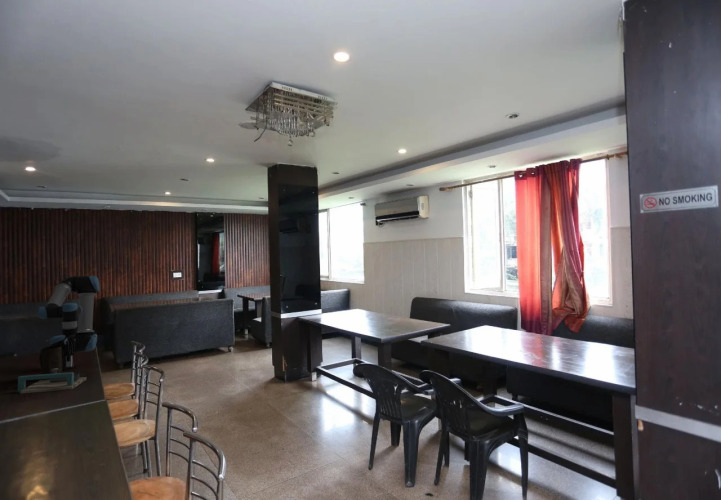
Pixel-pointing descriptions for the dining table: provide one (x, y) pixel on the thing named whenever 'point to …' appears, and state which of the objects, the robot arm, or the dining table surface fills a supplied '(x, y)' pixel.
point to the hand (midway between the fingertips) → (69, 366)
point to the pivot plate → (51, 385)
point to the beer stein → (50, 360)
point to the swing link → (64, 378)
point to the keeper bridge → (44, 376)
